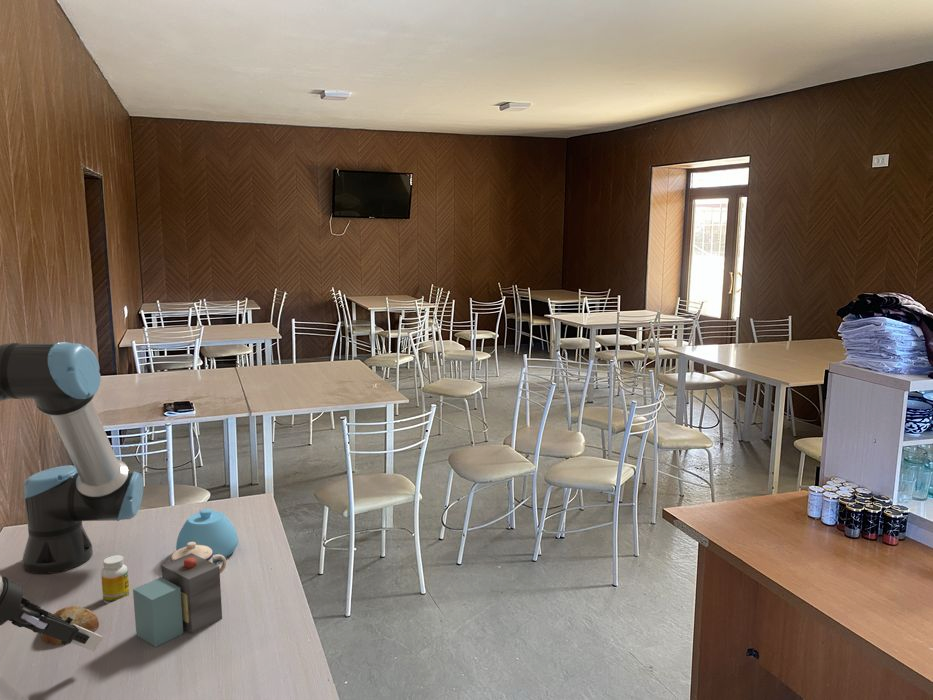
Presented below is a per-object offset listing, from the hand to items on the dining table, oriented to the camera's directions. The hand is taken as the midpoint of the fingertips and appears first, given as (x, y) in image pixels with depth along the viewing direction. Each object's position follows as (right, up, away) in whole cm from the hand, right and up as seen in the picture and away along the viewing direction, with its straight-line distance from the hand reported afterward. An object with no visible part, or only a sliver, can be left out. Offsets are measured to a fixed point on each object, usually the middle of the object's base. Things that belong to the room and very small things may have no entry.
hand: (96, 643), depth 132 cm
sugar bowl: (+3, +2, +50) cm, 50 cm away
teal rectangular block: (+7, -3, +11) cm, 13 cm away
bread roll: (-12, -4, +12) cm, 17 cm away
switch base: (+7, -4, +11) cm, 14 cm away
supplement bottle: (-10, -1, +27) cm, 28 cm away
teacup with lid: (+8, -1, +31) cm, 32 cm away
